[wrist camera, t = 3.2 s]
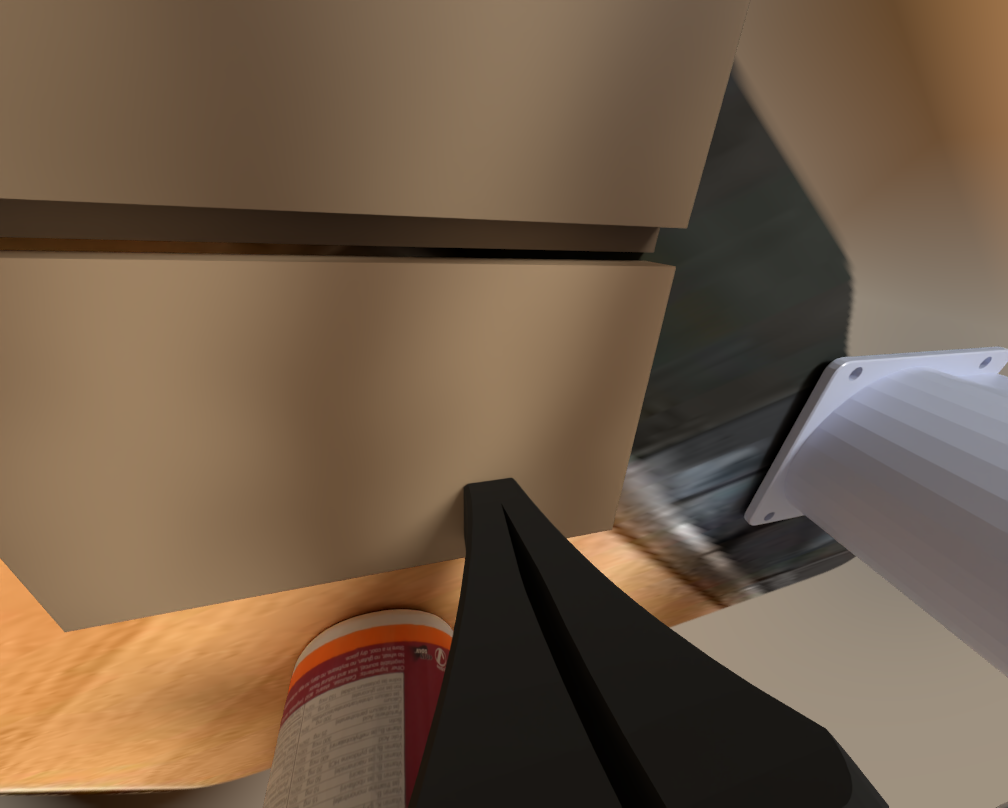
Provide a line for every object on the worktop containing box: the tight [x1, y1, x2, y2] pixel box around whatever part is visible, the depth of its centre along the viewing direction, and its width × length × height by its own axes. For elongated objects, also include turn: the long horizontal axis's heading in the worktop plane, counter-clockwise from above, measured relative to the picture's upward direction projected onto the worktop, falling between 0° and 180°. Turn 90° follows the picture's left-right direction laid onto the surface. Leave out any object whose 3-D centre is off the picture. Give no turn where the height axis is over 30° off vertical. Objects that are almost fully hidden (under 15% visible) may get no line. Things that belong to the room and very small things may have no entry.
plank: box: [0, 250, 676, 632], centre depth 9 cm, size 14×8×1 cm, turn 87°
